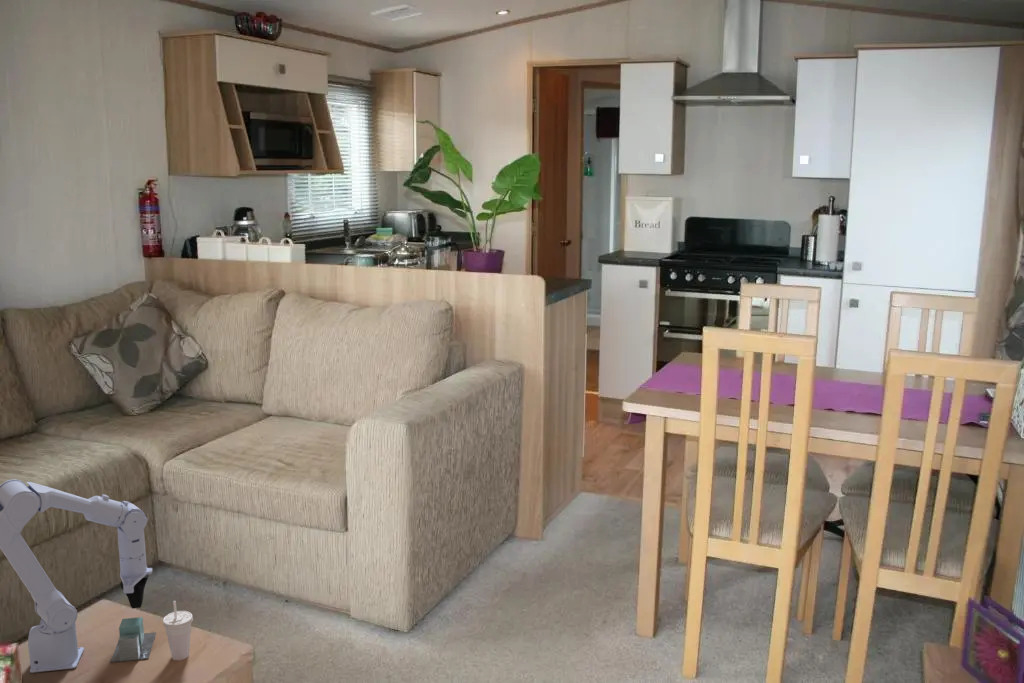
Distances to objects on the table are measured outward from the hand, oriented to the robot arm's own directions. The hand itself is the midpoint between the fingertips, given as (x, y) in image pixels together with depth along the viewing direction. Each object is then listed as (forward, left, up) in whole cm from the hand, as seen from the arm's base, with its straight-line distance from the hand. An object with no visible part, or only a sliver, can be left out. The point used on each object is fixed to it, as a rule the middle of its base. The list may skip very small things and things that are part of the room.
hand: (136, 606), depth 212 cm
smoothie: (+11, -12, -7) cm, 18 cm away
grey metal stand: (0, -7, -7) cm, 10 cm away
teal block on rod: (0, -7, -5) cm, 9 cm away
